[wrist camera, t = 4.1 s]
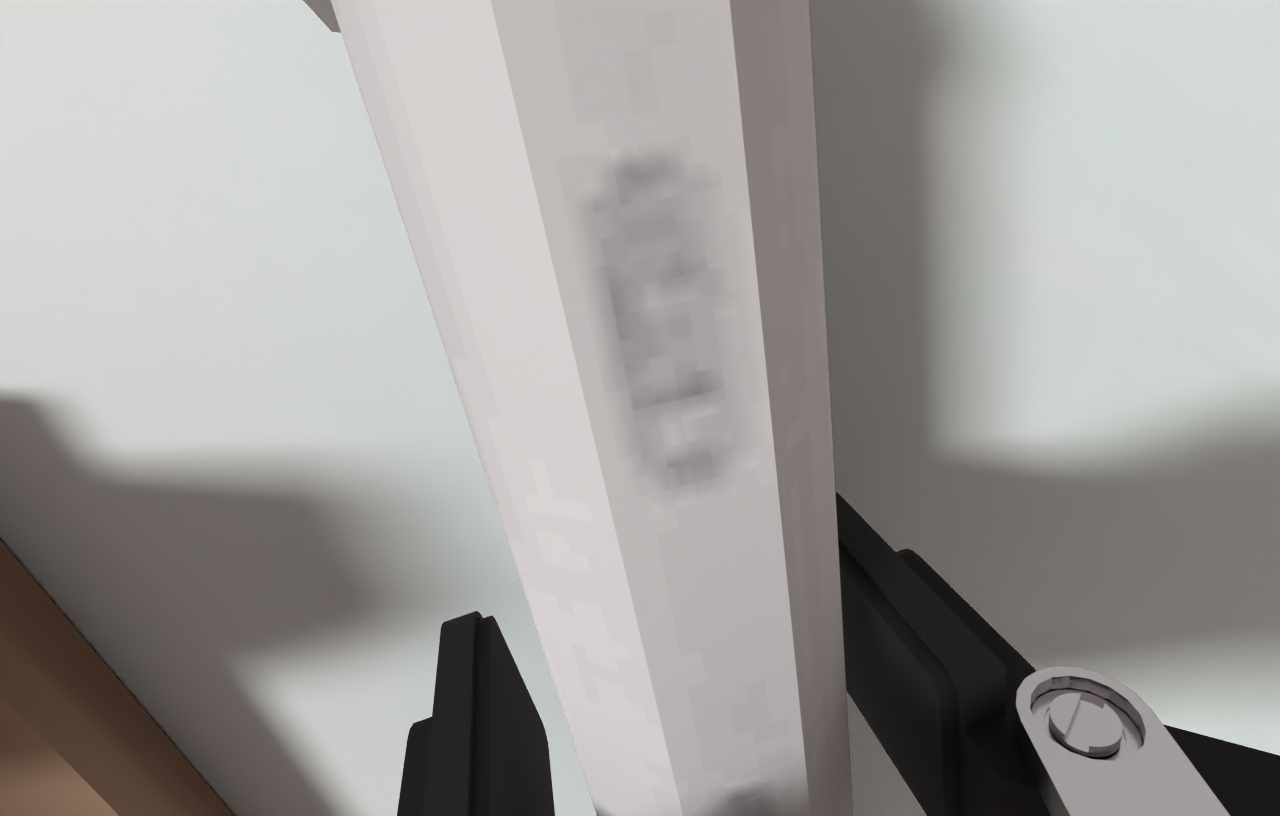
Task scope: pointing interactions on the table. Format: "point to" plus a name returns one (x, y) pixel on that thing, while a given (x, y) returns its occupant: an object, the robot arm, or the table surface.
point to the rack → (78, 723)
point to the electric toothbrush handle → (638, 366)
